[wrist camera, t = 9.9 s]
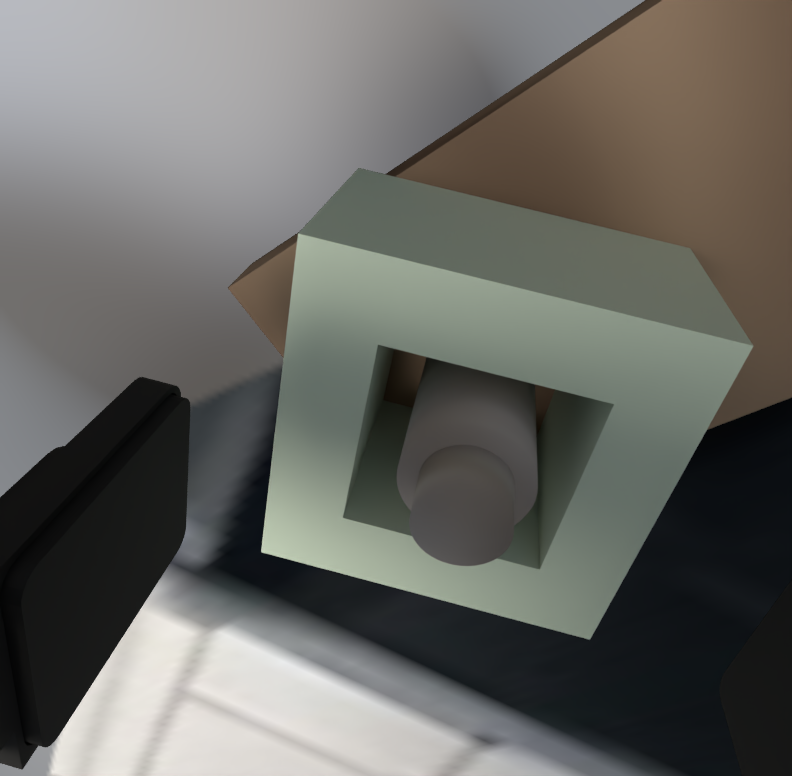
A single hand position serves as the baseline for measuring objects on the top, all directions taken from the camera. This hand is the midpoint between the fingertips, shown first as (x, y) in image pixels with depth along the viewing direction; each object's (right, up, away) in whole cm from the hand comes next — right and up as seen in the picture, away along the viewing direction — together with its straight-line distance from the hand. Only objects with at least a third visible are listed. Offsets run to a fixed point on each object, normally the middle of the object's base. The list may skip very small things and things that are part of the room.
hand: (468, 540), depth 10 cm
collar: (+1, +3, +4) cm, 5 cm away
